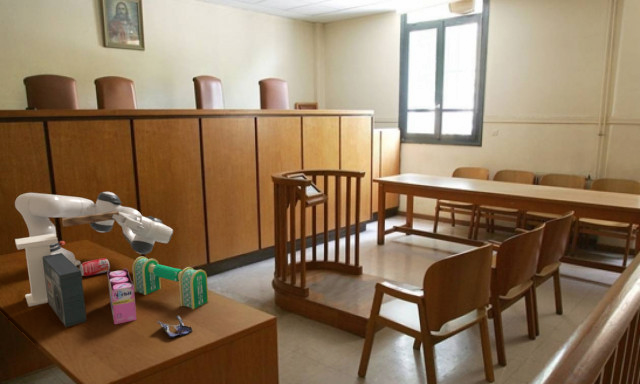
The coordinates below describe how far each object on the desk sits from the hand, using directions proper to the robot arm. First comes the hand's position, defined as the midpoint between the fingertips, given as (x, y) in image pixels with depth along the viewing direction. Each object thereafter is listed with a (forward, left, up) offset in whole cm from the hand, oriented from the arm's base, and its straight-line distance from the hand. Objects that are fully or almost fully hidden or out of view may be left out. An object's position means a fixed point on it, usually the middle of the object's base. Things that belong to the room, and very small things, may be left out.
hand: (111, 214), depth 202 cm
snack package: (+29, +57, -32) cm, 71 cm away
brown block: (+7, -4, -2) cm, 8 cm away
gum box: (+22, +26, -32) cm, 47 cm away
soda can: (-10, -16, -28) cm, 34 cm away
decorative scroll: (+5, +34, -32) cm, 47 cm away
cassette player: (+31, +6, -32) cm, 45 cm away
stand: (+25, -15, -32) cm, 43 cm away
